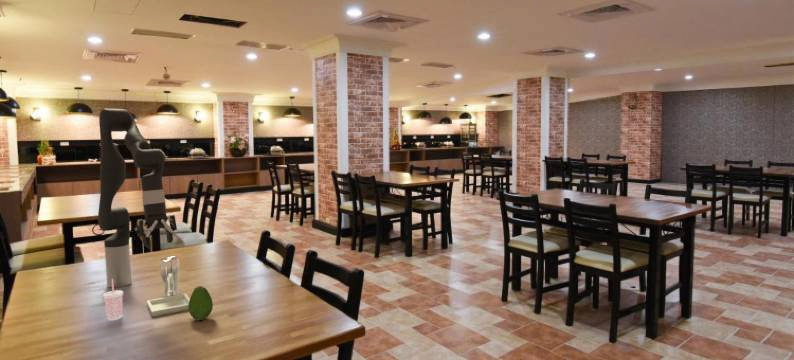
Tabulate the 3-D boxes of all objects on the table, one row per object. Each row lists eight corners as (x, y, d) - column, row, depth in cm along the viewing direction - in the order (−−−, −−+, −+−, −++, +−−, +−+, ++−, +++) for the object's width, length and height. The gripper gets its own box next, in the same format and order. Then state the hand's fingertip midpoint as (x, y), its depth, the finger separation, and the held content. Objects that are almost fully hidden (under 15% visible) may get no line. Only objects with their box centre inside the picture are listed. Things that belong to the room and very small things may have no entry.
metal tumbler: (173, 298, 194) (171, 261, 193) (158, 297, 196) (155, 260, 194) (184, 292, 201) (182, 256, 200) (169, 291, 203) (167, 255, 201)
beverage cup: (104, 322, 170) (101, 282, 169) (105, 316, 176) (102, 278, 174) (124, 319, 173) (122, 280, 172) (124, 313, 179) (122, 275, 177)
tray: (146, 305, 186) (146, 300, 186) (186, 298, 194) (185, 293, 194) (152, 317, 175) (151, 311, 175) (193, 309, 183) (193, 303, 182)
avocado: (198, 325, 167) (197, 290, 166) (184, 320, 171) (182, 287, 170) (218, 317, 174) (216, 284, 173) (204, 313, 178) (202, 281, 177)
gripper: (166, 200, 194) (171, 241, 194) (130, 205, 182) (135, 248, 183) (177, 199, 190) (182, 241, 190) (140, 204, 178) (145, 248, 178)
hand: (159, 244), depth 186 cm, fingers open, 8 cm apart
